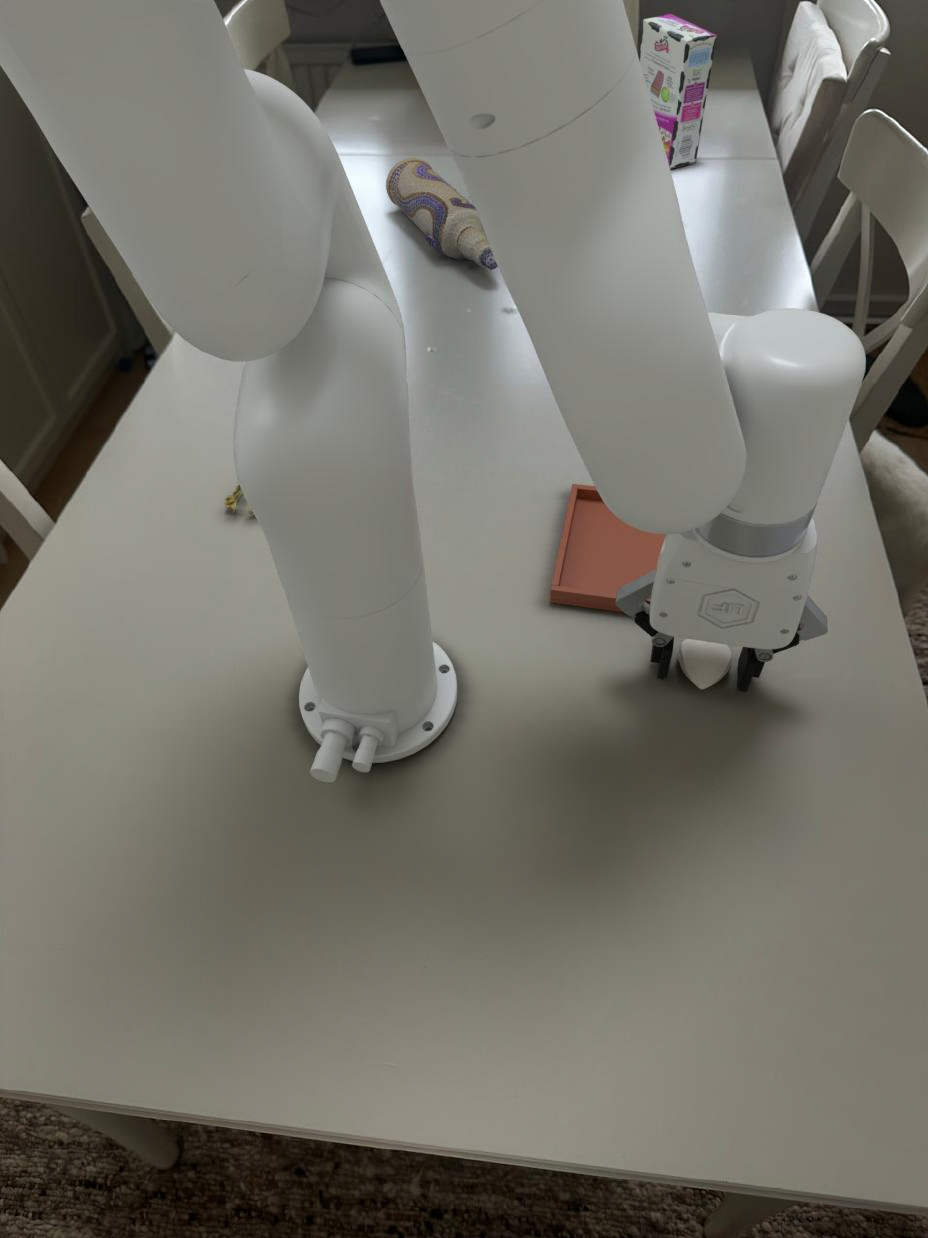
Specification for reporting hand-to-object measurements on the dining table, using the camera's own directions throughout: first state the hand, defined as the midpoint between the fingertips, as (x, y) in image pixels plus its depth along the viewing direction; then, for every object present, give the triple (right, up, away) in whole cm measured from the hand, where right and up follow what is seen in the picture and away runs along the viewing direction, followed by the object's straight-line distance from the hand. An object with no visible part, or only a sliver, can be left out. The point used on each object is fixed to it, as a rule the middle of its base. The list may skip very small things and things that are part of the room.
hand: (702, 669), depth 69 cm
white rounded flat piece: (0, 0, +1) cm, 1 cm away
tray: (-3, +10, +9) cm, 13 cm away
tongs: (-39, +19, +18) cm, 47 cm away
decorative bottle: (-22, +54, +46) cm, 75 cm away
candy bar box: (+11, +74, +61) cm, 97 cm away
